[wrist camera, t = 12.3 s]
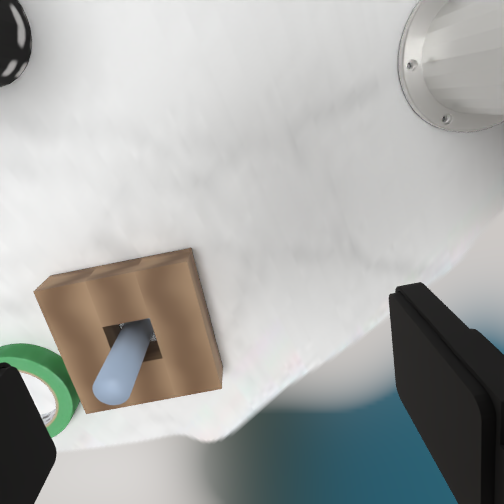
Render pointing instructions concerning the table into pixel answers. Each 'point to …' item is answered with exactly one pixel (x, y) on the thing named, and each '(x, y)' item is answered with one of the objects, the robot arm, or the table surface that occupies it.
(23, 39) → the white-spotted black cylinder
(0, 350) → the tape roll
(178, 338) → the block
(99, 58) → the table surface
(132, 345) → the peg
